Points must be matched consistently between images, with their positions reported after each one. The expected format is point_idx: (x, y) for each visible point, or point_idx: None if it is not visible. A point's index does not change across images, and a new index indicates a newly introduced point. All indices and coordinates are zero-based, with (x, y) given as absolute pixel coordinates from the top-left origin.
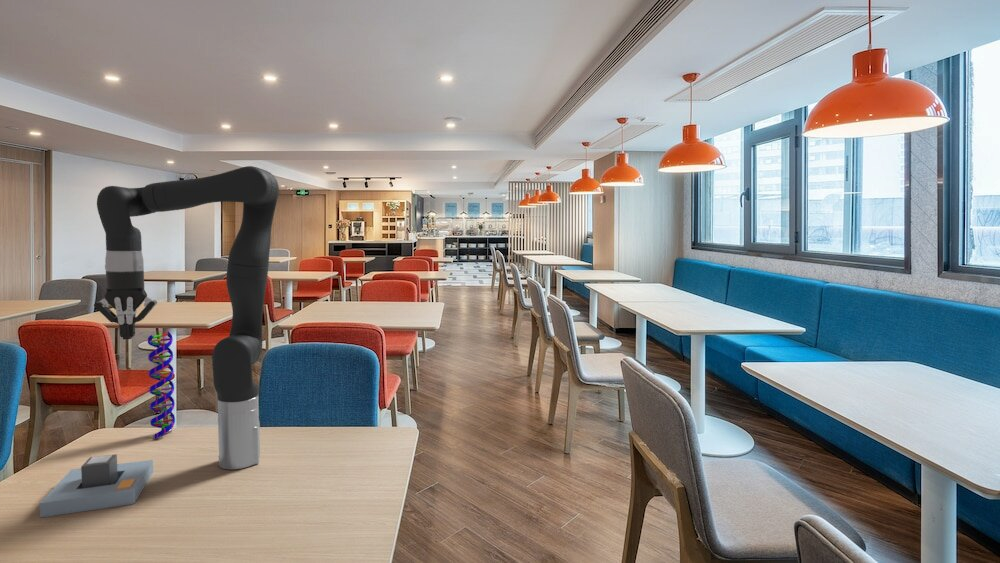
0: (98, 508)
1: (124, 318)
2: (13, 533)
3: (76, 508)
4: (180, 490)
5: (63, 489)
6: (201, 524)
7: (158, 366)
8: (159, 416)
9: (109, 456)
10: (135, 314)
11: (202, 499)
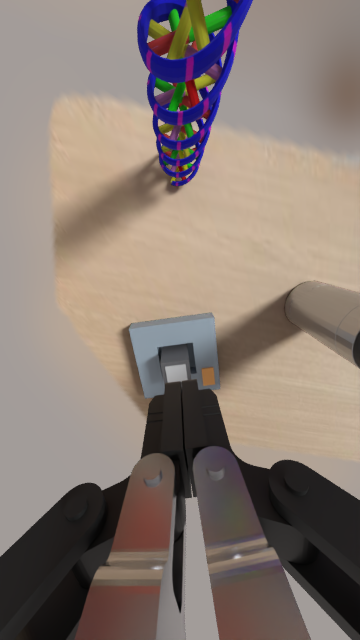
0: None
1: (159, 512)
2: (141, 408)
3: None
4: (253, 362)
5: (150, 376)
6: (281, 419)
7: (191, 115)
8: (182, 175)
9: (184, 367)
10: (265, 543)
11: (276, 382)
